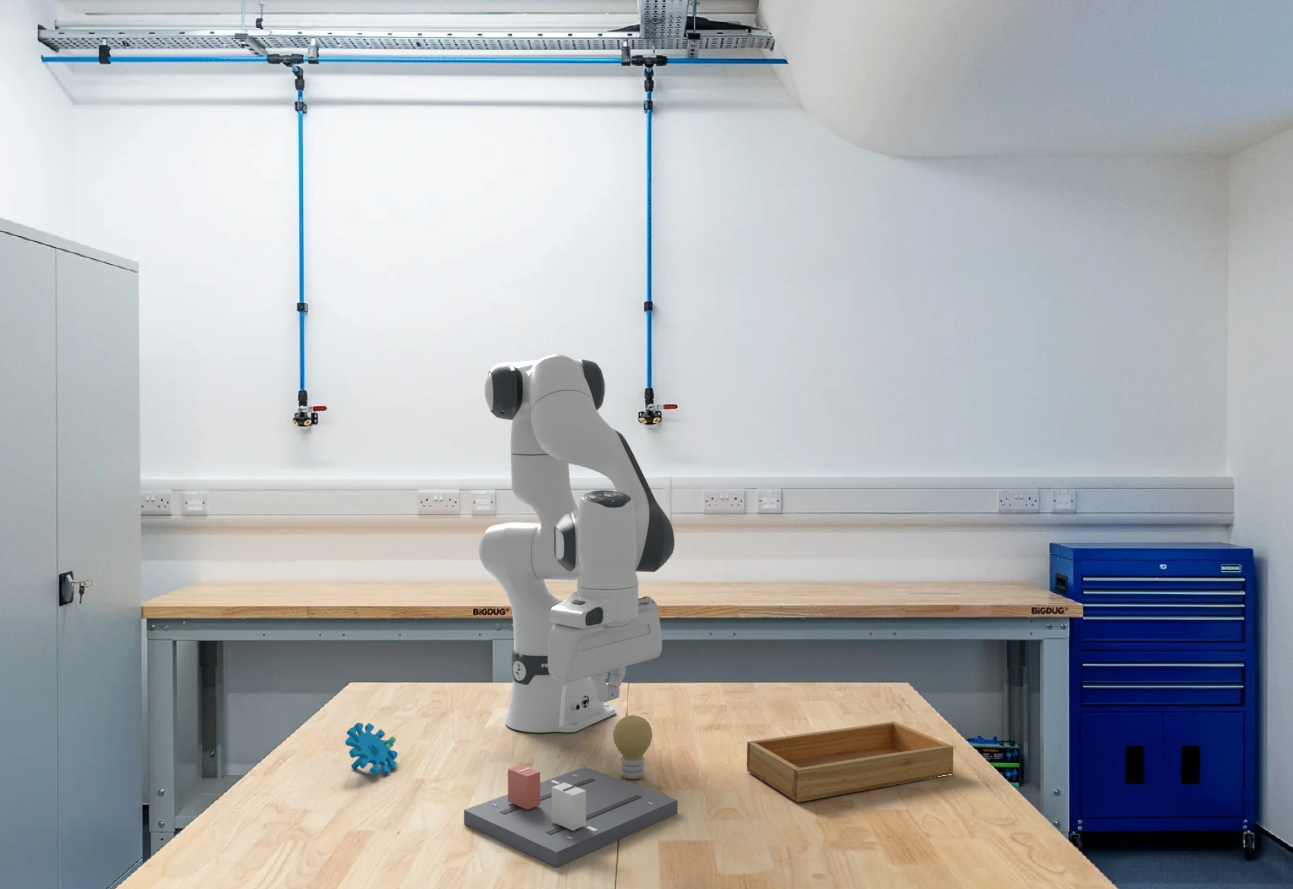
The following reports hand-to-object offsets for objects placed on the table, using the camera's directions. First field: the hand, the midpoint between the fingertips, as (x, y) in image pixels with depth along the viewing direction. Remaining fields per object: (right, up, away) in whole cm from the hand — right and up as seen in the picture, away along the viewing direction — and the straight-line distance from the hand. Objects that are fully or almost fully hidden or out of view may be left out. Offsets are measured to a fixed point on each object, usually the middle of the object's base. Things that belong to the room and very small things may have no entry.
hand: (608, 699), depth 135 cm
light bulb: (+3, -18, +18) cm, 26 cm away
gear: (-40, -18, +22) cm, 49 cm away
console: (-5, -18, +2) cm, 19 cm away
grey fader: (-5, -16, -5) cm, 17 cm away
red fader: (-12, -16, +2) cm, 20 cm away
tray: (+39, -19, +20) cm, 48 cm away
